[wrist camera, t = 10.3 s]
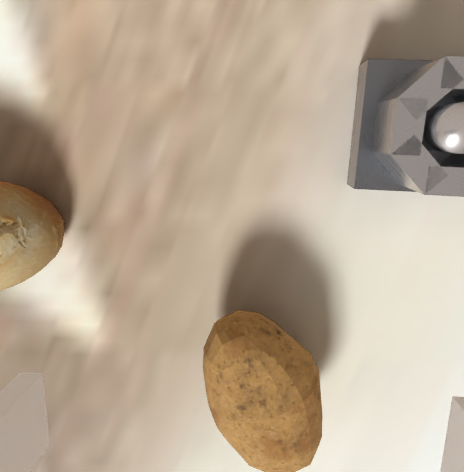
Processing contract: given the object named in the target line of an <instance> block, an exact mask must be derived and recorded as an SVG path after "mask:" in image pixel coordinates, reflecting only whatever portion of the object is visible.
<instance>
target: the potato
mask: <svg viewBox="0 0 464 472" xmlns="http://www.w3.org/2000/svg"><path fill="white" fill-rule="evenodd" d="M203 372H204V379H205V387H206V393H207V398H208V404H209V407H210V410H211V413H212V415H213V418H214V421H215V423H216V425H217V427H218V429H219V431H220V432H221V433H222V434H223V436H224V437H225V438H226V439H227V441H228V442H229V443H230V444H231V446H232V447H233V448H234V449H235V450H236V451H237V452H238V453H239V454H240V455H241V456H242V458H243V459H244V460H245V461H246V462H247V463H248V465H249V466H252V467H254V468H257V469H259V470H261V471H264V472H296V471H298V470H300V469H302V468H304V467H306V466H308V465H310V464H311V462H312V459H313V457H314V455H315V453H316V450H317V448H318V446H319V443H320V440H321V437H322V405H321V392H320V379H319V370H318V368H317V366H316V364H315V362H314V360H313V358H312V356H311V354H310V353H309V352H308V351H307V350H306V349H305V348H303V347H302V346H301V345H300V344H299V343H298V342H296V341H295V340H294V339H293V338H292V337H291V336H289V335H288V334H287V333H286V332H285V331H284V330H283V329H282V328H280V327H279V326H278V325H277V324H276V323H275V322H273V321H272V320H270V319H268V318H267V317H265V316H263V315H262V314H260V313H256V312H249V311H241V310H238V311H236V312H234V313H232V314H230V315H228V316H226V317H224V318H222V319H220V320H218V321H217V322H216V323H214V325H213V328H212V330H211V332H210V335H209V337H208V339H207V342H206V344H205V346H204V356H203Z"/></svg>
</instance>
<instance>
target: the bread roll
mask: <svg viewBox="0 0 464 472" xmlns="http://www.w3.org/2000/svg"><path fill="white" fill-rule="evenodd" d="M64 221H65V220H63V219H62V218H61V215H60V213H59V212H58V211H57V209H56V208H55V207H54V206H53V204H52V203H51V202H50V201H49V200H47V199H46V198H44V197H42V196H41V195H39V194H37V193H35V192H33V191H32V190H30V189H28V188H26V187H22V186H18V185H15V184H12V183H9V182H4V181H0V291H1V290H4V289H7V288H9V287H12V286H14V285H17V284H19V283H21V282H23V281H25V280H26V279H28V278H30V277H32V276H33V275H35V274H36V273H38V272H39V271H40V270H42V269H43V268H44V267H45V266H46V265H47V264H48V263H49V262H50V261H51V260H52V259H53V258H54V257H55V256H56V255H57V253H58V252H59V249H60V248H61V247H62V243H63V236H64V224H63V223H64Z"/></svg>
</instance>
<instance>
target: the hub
mask: <svg viewBox="0 0 464 472" xmlns="http://www.w3.org/2000/svg"><path fill="white" fill-rule="evenodd" d="M443 97H452V98H453V100H454V101H455V102H456V103H460V102H464V56H444V57H442V58H440V59H437V60H435V61H433V62H431V63H429V64H426V65H424V66H422V67H420V68H417V69H416V70H415V71H413V72H412V73H411V74H410V75H409V76H408V77H407V78H406V79H404V80H403V81H402V82H401V83H400V84H399V85H398V86H397V87H395V88H394V89H393V90H392V91H391V92H390V93H389V94H388V95H386V96H385V97H384V98H383V99H382V100H381V101H380V102H379V103H377V111H376V120H375V128H374V137H373V146H372V152H373V153H374V154H375V156H376V157H377V158H378V159H379V160H380V161H381V163H382V164H383V165H384V166H385V167H386V168H387V170H388V171H389V172H390V173H391V174H392V175H393V177H394V178H395V179H396V180H397V181H398V182H399V184H400V185H402V186H404V187H407V188H409V189H412V190H414V191H417V192H419V193H422V194H424V195H441V196H462V197H464V154H457V153H452V154H451V155H450V156H448V157H447V158H446V159H445V160H443V161H442V162H437V161H436V160H435V159H434V158H433V157H432V155H431V154H430V153H429V152H428V151H427V149H426V148H425V147H424V146H423V145H422V139H423V132H424V125H425V118H426V111H428V110H429V109H430V108H431V107H432V106H433V105H435V104H436V103H437V102H438V101H439V100H440V99H442V98H443Z"/></svg>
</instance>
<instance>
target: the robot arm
mask: <svg viewBox="0 0 464 472" xmlns="http://www.w3.org/2000/svg"><path fill="white" fill-rule="evenodd" d="M49 445H50V442H49V432H48V422H47V411H46V401H45V391H44V380H43V373H28V372H20V373H19V374H18V375H17V376H16V377H15V378H14V379H13V380H12V381H11V382H10V383H9V384H8V385H7V386H6V387H5V388H4V389H3V390H2V391H1V392H0V472H31V471H32V470H33V469H34V467H35V466H36V464H37V463H38V461H39V460H40V458H41V457H42V455H43V454H44V452H45V451H46V449H47V448H48V447H49ZM441 472H464V397H452V403H451V410H450V416H449V422H448V428H447V434H446V440H445V446H444V452H443V458H442V465H441Z"/></svg>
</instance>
